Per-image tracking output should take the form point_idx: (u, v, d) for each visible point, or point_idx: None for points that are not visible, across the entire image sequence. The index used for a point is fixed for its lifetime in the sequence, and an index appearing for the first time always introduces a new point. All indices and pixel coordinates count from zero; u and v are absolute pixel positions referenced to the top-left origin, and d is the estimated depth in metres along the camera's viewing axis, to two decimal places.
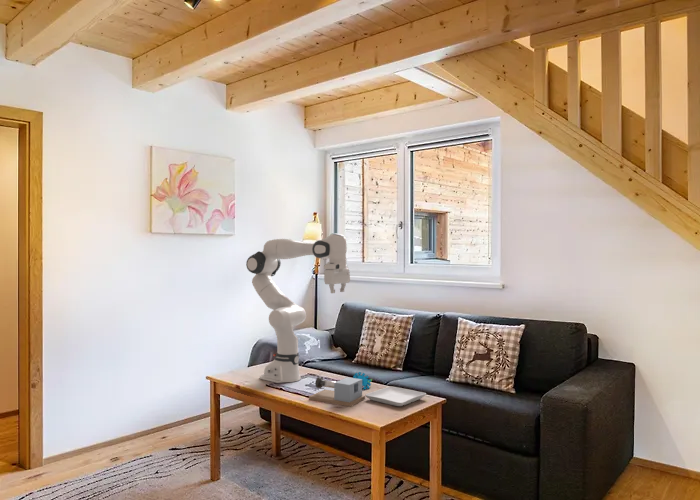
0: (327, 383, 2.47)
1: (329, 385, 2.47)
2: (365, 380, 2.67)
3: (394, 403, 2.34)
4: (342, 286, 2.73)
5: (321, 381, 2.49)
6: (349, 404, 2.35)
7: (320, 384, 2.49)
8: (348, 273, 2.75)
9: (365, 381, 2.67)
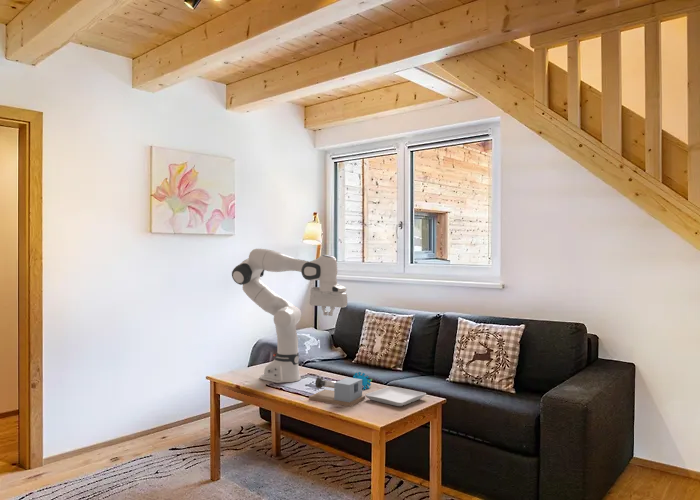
0: (327, 383, 2.47)
1: (329, 385, 2.47)
2: (365, 380, 2.67)
3: (394, 403, 2.34)
4: (324, 309, 2.62)
5: (321, 381, 2.49)
6: (349, 404, 2.35)
7: (320, 384, 2.49)
8: None
9: (365, 381, 2.67)
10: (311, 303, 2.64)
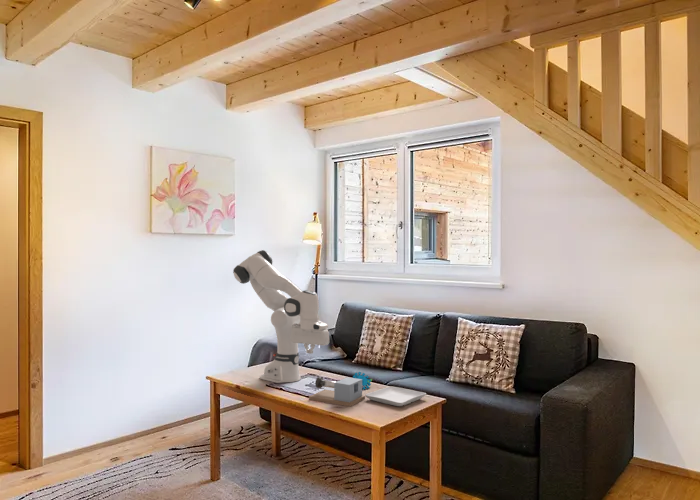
0: (327, 383, 2.47)
1: (329, 385, 2.47)
2: (365, 380, 2.67)
3: (394, 403, 2.34)
4: (307, 347, 2.55)
5: (321, 381, 2.49)
6: (349, 404, 2.35)
7: (320, 384, 2.49)
8: None
9: (365, 381, 2.67)
10: (292, 340, 2.57)
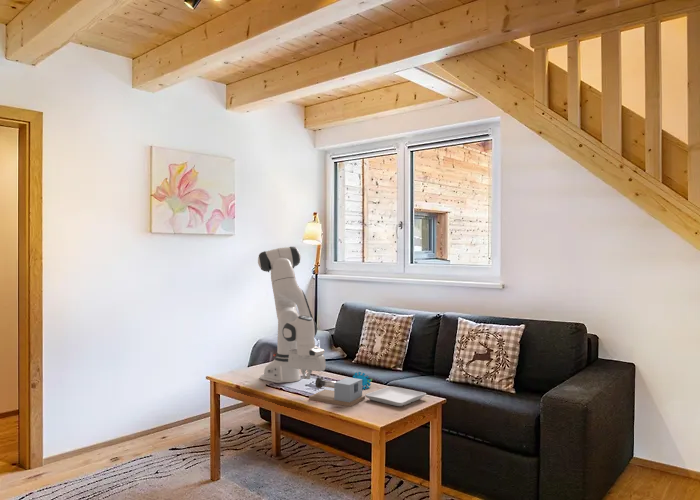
0: (327, 383, 2.47)
1: (329, 385, 2.47)
2: (365, 380, 2.67)
3: (394, 403, 2.34)
4: (304, 372, 2.54)
5: (321, 381, 2.49)
6: (349, 404, 2.35)
7: (320, 384, 2.49)
8: None
9: (365, 381, 2.67)
10: (289, 366, 2.56)
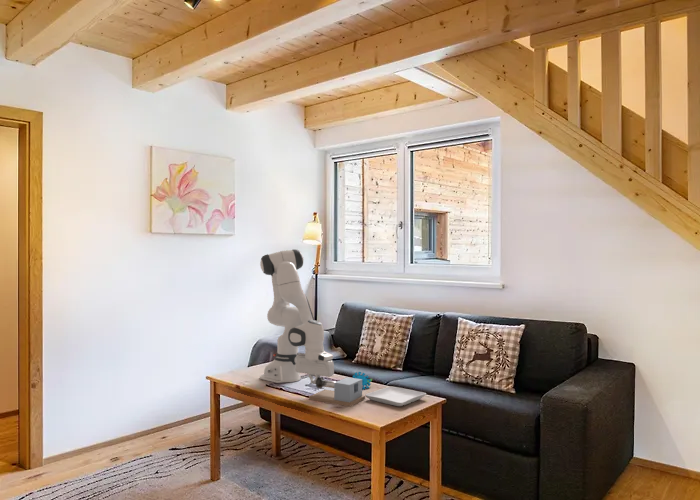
0: (327, 383, 2.47)
1: (329, 385, 2.46)
2: (365, 380, 2.67)
3: (394, 403, 2.34)
4: (311, 377, 2.52)
5: (321, 381, 2.49)
6: (349, 404, 2.35)
7: (320, 384, 2.49)
8: None
9: (365, 381, 2.67)
10: (297, 370, 2.55)
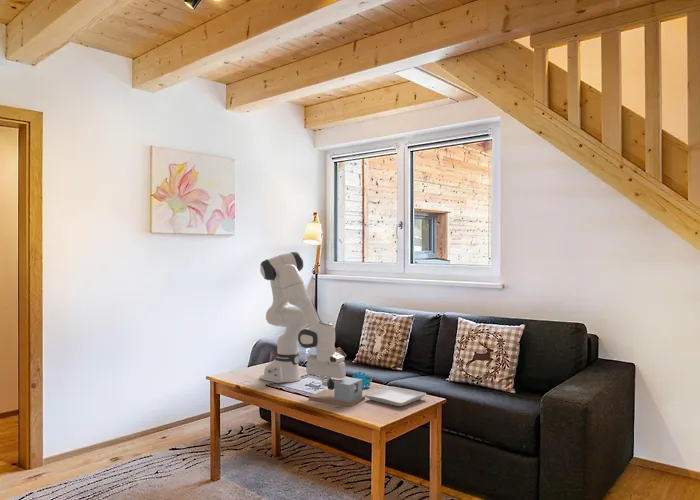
0: None
1: None
2: (365, 380, 2.68)
3: (394, 403, 2.34)
4: (323, 379, 2.49)
5: (333, 383, 2.46)
6: (349, 404, 2.35)
7: (332, 386, 2.46)
8: None
9: (364, 381, 2.67)
10: (308, 372, 2.52)
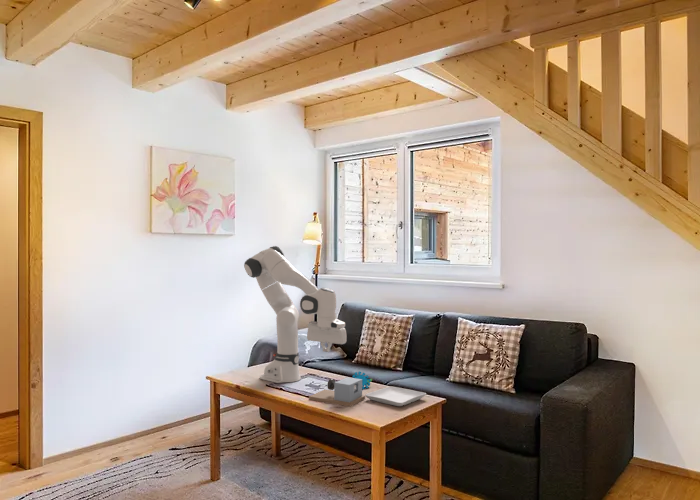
0: None
1: None
2: (364, 380, 2.68)
3: (394, 403, 2.34)
4: (323, 345, 2.50)
5: (333, 383, 2.46)
6: (349, 404, 2.35)
7: (332, 386, 2.46)
8: None
9: (364, 381, 2.67)
10: (309, 338, 2.52)
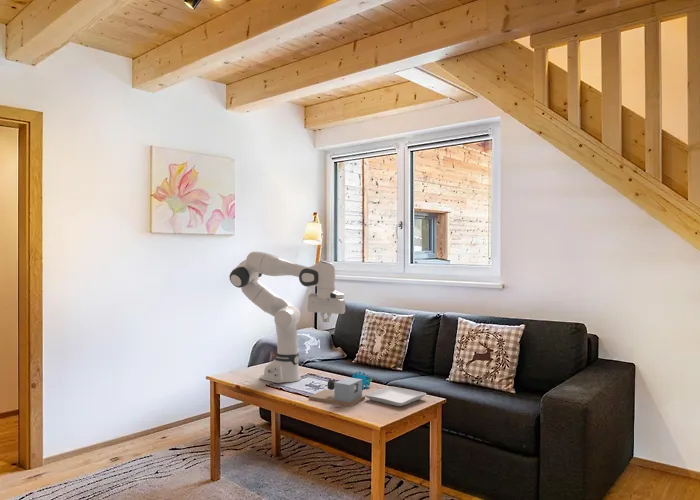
0: None
1: None
2: (364, 380, 2.68)
3: (394, 403, 2.34)
4: (323, 316, 2.60)
5: (333, 383, 2.46)
6: (349, 404, 2.35)
7: (332, 386, 2.46)
8: None
9: (364, 381, 2.67)
10: (309, 309, 2.63)
